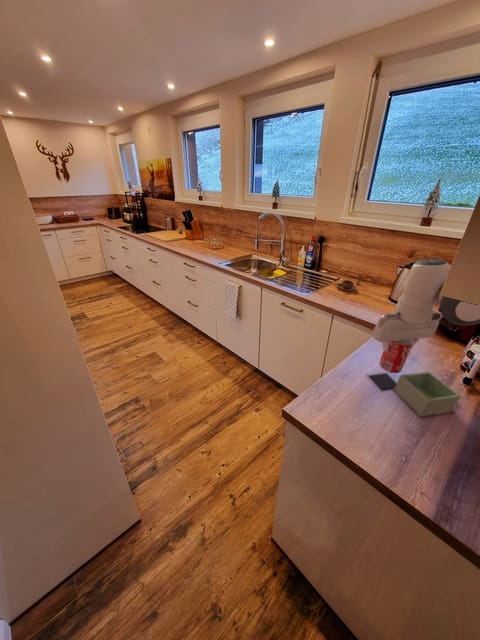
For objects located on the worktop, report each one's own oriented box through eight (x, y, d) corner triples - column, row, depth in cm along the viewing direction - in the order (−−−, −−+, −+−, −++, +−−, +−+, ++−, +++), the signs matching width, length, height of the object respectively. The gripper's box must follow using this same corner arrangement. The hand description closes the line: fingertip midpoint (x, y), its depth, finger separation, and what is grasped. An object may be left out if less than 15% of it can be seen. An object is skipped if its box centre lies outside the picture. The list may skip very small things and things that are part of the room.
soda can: (400, 365, 92) (412, 336, 86) (401, 377, 86) (414, 347, 81) (378, 359, 95) (388, 331, 89) (378, 371, 89) (389, 341, 83)
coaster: (385, 374, 97) (386, 373, 97) (399, 387, 91) (399, 386, 91) (369, 376, 96) (369, 375, 96) (381, 389, 90) (382, 389, 90)
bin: (422, 385, 92) (429, 371, 89) (451, 411, 82) (461, 396, 79) (393, 389, 90) (400, 375, 87) (420, 416, 80) (428, 401, 77)
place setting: (331, 284, 178) (333, 276, 175) (358, 283, 181) (360, 275, 178) (344, 294, 163) (347, 285, 160) (373, 293, 166) (376, 284, 163)
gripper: (389, 319, 75) (375, 357, 82) (448, 314, 79) (430, 351, 86) (375, 309, 81) (363, 346, 87) (430, 305, 84) (415, 341, 91)
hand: (397, 349), depth 87 cm, fingers closed on soda can, 7 cm apart
